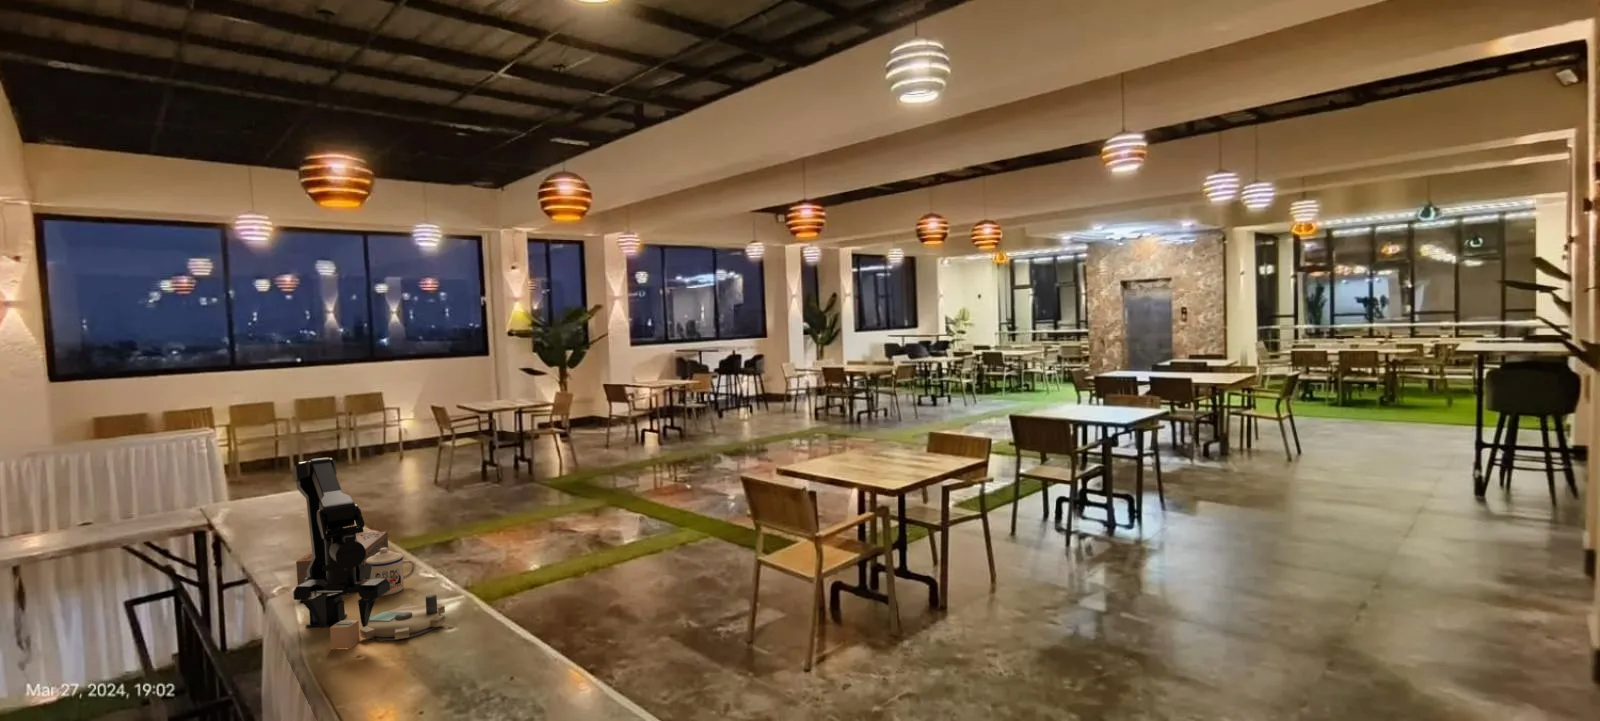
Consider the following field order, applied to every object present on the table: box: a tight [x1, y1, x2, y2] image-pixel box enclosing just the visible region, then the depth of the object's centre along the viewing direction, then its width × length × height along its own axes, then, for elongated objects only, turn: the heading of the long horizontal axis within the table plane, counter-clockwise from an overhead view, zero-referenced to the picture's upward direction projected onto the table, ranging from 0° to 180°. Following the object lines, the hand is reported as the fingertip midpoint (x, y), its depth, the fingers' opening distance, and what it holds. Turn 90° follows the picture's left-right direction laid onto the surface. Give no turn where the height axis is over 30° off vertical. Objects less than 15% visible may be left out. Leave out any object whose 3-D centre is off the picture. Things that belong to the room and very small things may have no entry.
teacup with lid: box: [365, 547, 417, 597], centre depth 209 cm, size 12×9×12 cm
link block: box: [329, 619, 361, 649], centre depth 173 cm, size 4×4×5 cm
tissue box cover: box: [295, 531, 389, 589], centre depth 218 cm, size 26×14×10 cm, turn 11°
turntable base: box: [370, 627, 437, 642], centre depth 183 cm, size 16×16×1 cm
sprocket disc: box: [359, 594, 446, 641], centre depth 183 cm, size 19×18×6 cm
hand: (344, 626), depth 173 cm, fingers open, 9 cm apart
